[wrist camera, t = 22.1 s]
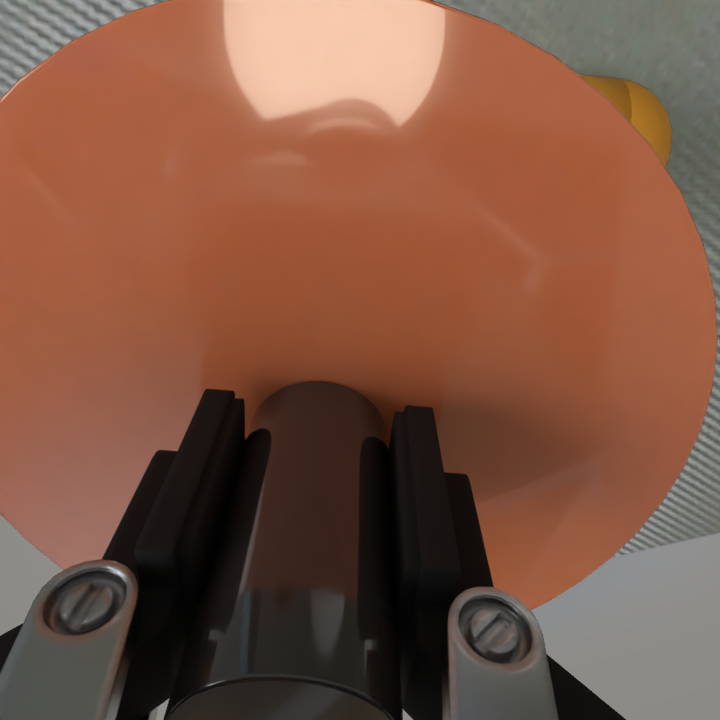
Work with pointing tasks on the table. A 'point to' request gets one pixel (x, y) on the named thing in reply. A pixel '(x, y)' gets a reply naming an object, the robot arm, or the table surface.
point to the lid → (338, 315)
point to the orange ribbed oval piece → (638, 110)
